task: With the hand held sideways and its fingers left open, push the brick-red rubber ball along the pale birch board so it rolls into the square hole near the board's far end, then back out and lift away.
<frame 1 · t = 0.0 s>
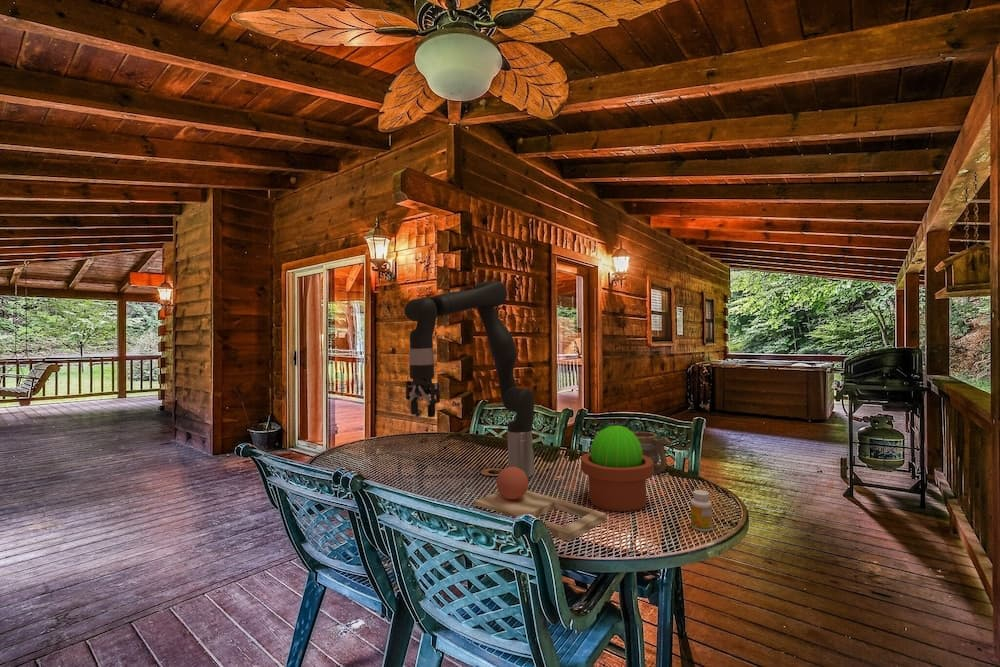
hand: (422, 415, 143), 29 cm above the table, tool pointing down, fingers open, 8 cm apart
potted cactus: (617, 502, 147), on the table
ball: (512, 482, 146), point 7 cm above the table, touching board
board: (537, 513, 139), on the table
supplement bottle: (701, 528, 127), on the table
tankard: (650, 473, 176), on the table
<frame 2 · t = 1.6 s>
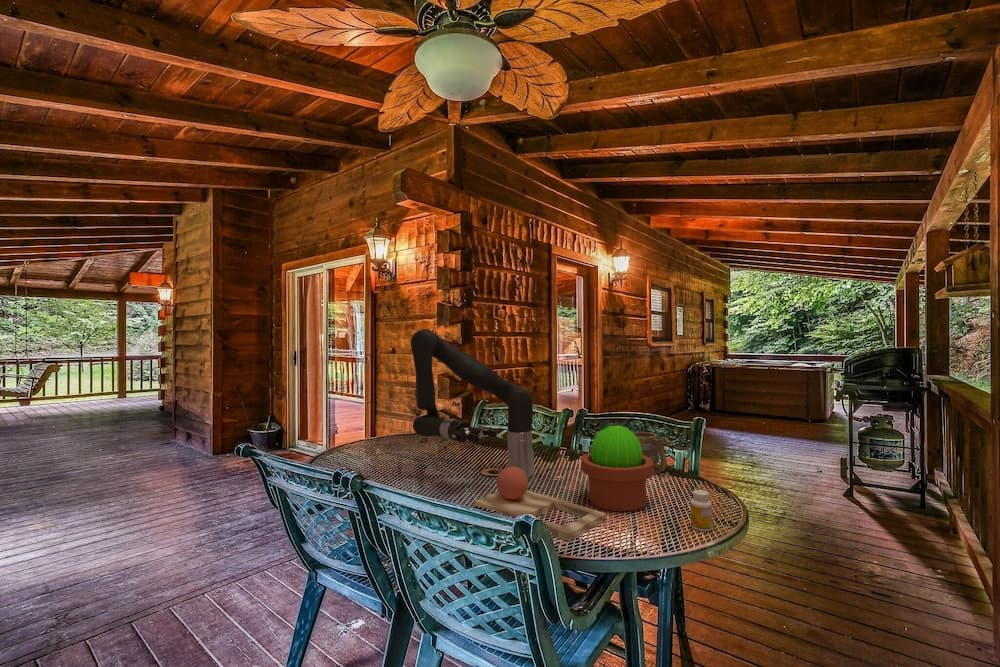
hand: (487, 436, 153), 20 cm above the table, tool horizontal, fingers open, 8 cm apart
nothing on the table moved.
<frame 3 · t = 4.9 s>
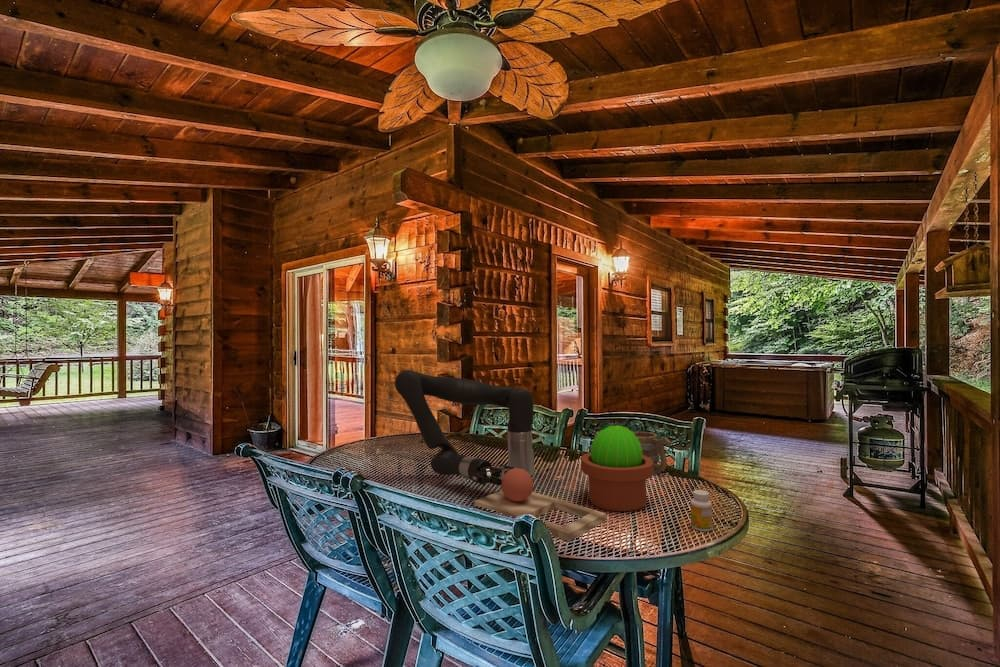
hand: (510, 479, 146), 8 cm above the table, tool horizontal, fingers open, 8 cm apart
ball: (517, 484, 144), point 7 cm above the table, tilted 26°, touching board
everything else where it was.
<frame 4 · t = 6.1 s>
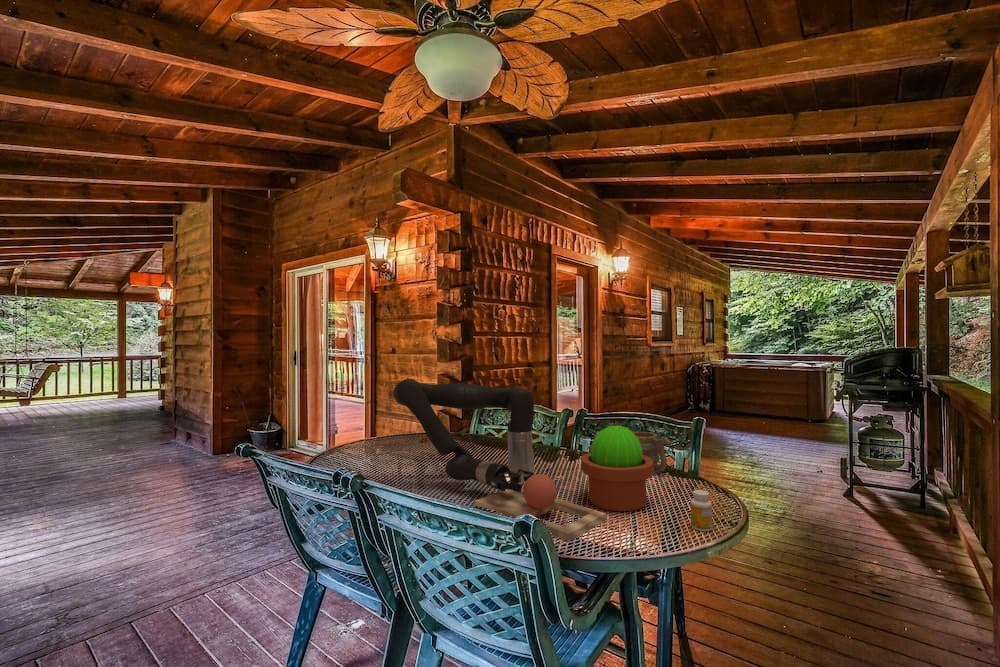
hand: (530, 484, 140), 8 cm above the table, tool horizontal, fingers open, 8 cm apart
ball: (539, 491, 138), point 7 cm above the table, tilted 130°, touching board
everything else where it was.
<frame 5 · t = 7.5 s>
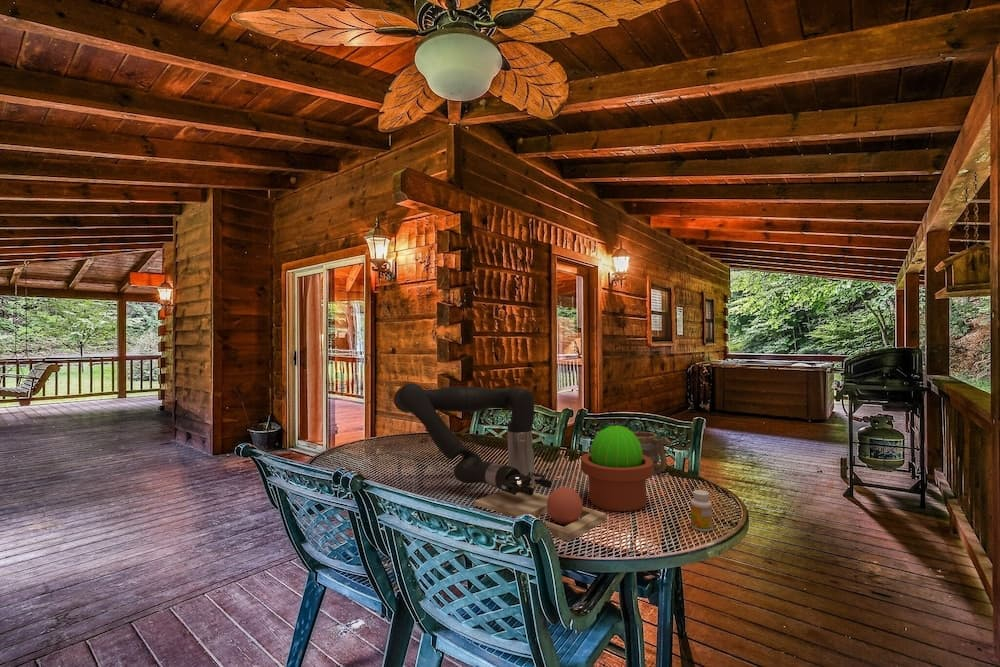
hand: (541, 488, 138), 8 cm above the table, tool horizontal, fingers open, 8 cm apart
ball: (564, 505, 131), point 5 cm above the table, tilted 119°
everything else where it was.
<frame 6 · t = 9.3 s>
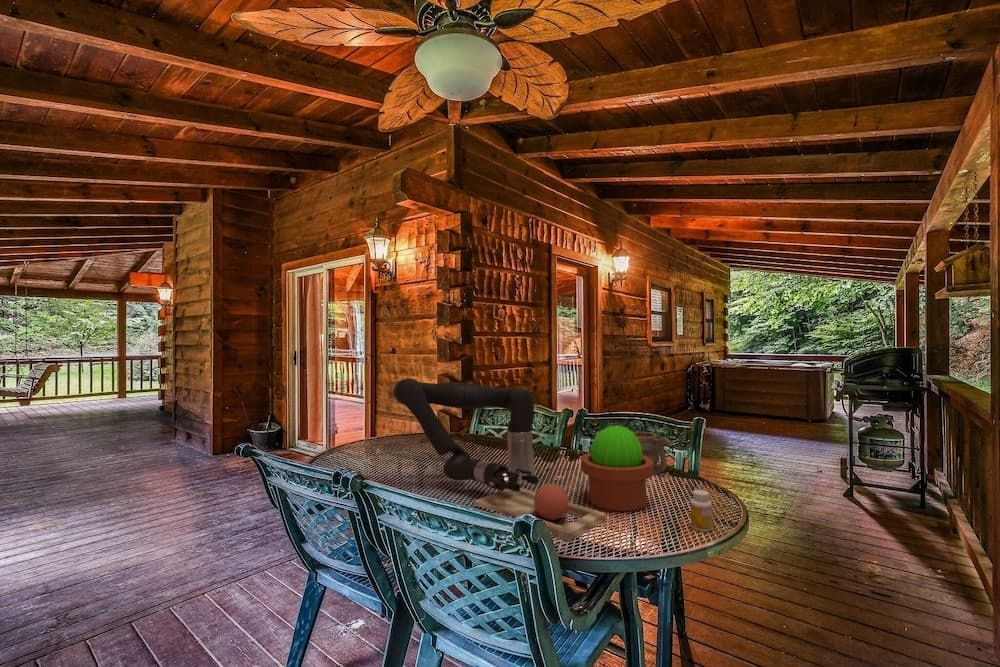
hand: (528, 484, 142), 8 cm above the table, tool horizontal, fingers open, 8 cm apart
ball: (551, 501, 135), point 5 cm above the table, tilted 173°
everything else where it was.
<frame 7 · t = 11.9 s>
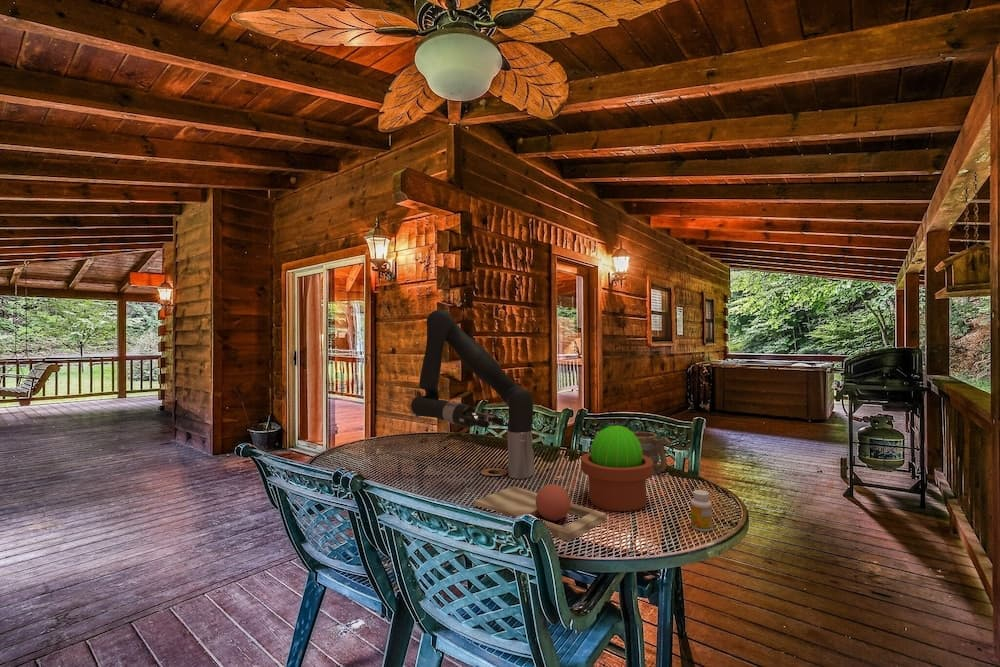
hand: (495, 423, 154), 24 cm above the table, tool horizontal, fingers open, 8 cm apart
ball: (552, 502, 134), point 5 cm above the table, tilted 167°
everything else where it was.
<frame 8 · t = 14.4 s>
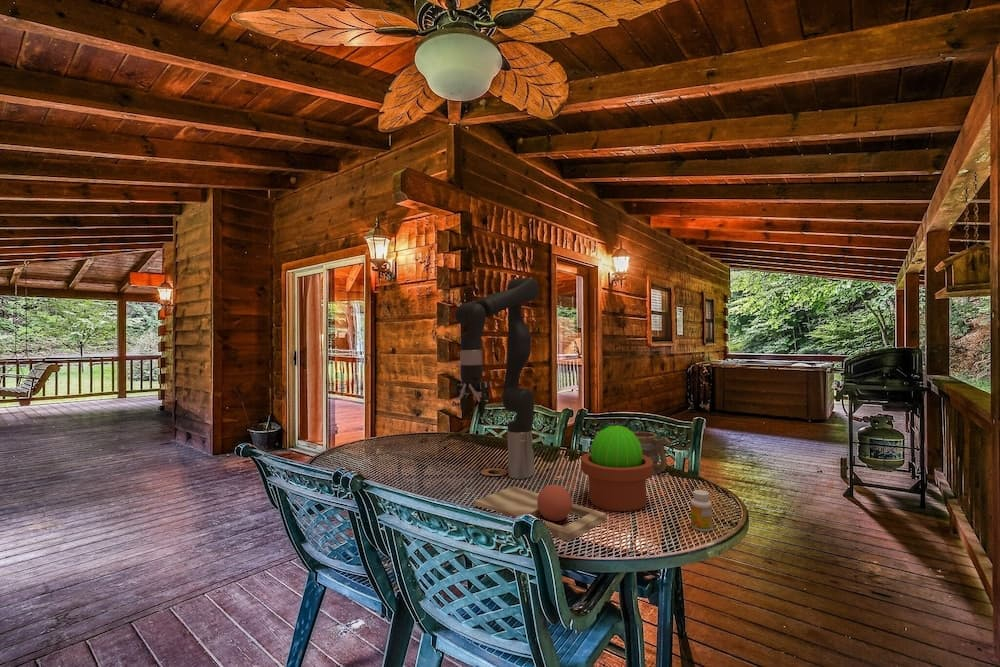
hand: (472, 411, 155), 28 cm above the table, tool pointing down, fingers open, 8 cm apart
ball: (554, 502, 134), point 5 cm above the table, tilted 160°
everything else where it was.
at the end: ball inside the target area on the board (1.3 cm from its centre), point 5.0 cm above the board's base; ball moved 16.9 cm from its start; the gripper is holding nothing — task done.
